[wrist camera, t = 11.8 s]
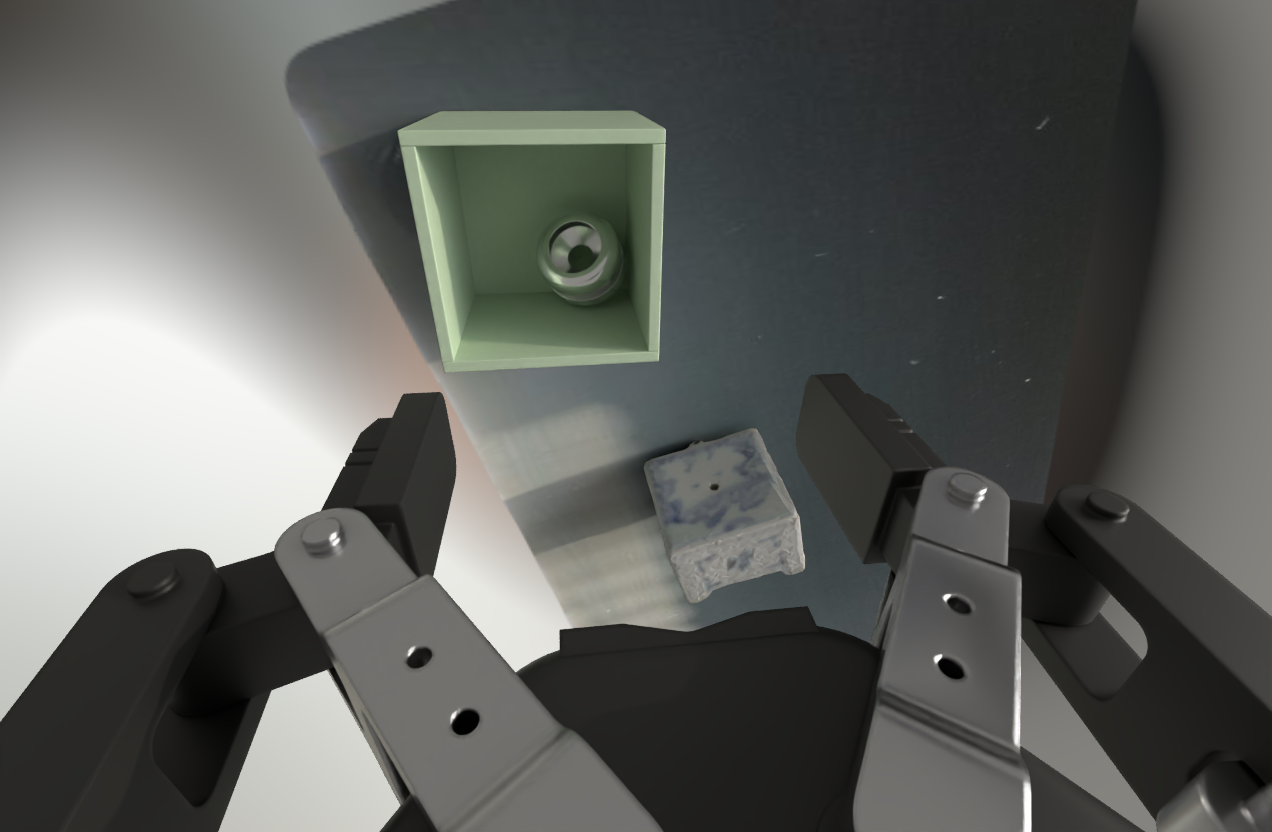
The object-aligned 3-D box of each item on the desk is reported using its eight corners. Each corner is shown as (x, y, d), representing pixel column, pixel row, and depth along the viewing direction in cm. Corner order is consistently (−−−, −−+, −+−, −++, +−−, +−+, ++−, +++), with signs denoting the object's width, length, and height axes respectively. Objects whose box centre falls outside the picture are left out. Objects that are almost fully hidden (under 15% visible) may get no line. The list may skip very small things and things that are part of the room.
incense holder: (664, 523, 51) (687, 617, 43) (639, 453, 47) (659, 543, 38) (768, 490, 51) (814, 579, 42) (753, 417, 46) (800, 500, 38)
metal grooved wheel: (533, 265, 36) (580, 322, 35) (515, 244, 33) (566, 306, 32) (593, 214, 36) (642, 270, 35) (581, 188, 33) (634, 249, 32)
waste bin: (439, 111, 32) (396, 130, 23) (634, 110, 34) (666, 128, 24) (468, 299, 38) (443, 373, 29) (633, 292, 40) (658, 361, 30)
